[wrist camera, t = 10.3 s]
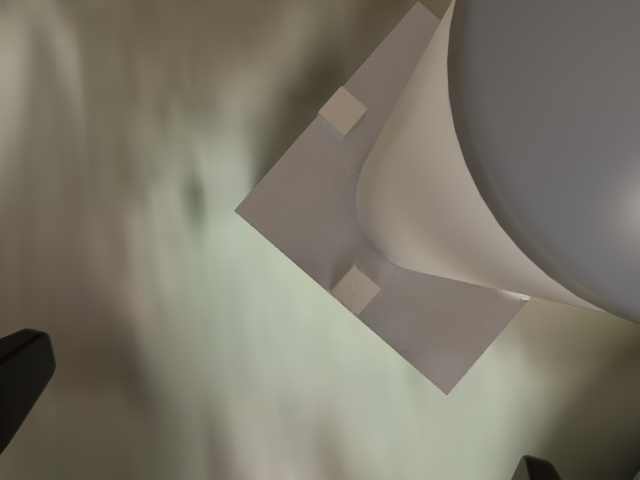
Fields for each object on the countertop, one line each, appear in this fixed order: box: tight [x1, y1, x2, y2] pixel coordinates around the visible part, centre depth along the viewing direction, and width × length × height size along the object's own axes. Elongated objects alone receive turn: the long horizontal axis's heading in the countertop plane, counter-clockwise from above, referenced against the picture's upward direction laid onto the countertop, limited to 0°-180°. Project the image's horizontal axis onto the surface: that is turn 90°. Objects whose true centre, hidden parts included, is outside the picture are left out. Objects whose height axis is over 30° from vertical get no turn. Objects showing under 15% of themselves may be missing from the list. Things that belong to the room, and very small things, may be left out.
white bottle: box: [356, 0, 640, 324], centre depth 10 cm, size 6×6×16 cm
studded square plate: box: [235, 1, 541, 395], centre depth 20 cm, size 13×10×5 cm
